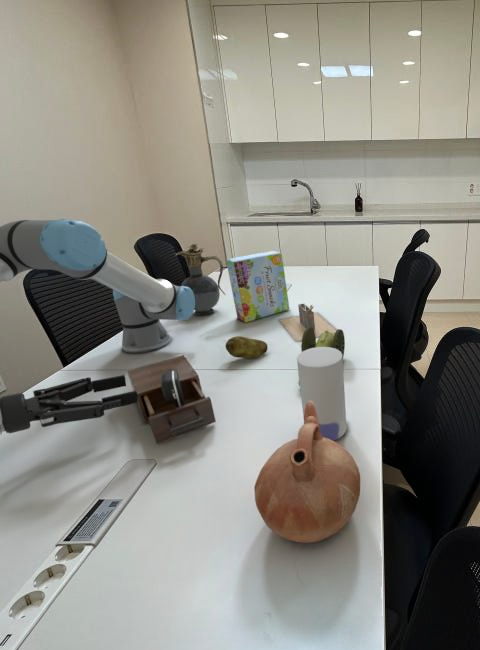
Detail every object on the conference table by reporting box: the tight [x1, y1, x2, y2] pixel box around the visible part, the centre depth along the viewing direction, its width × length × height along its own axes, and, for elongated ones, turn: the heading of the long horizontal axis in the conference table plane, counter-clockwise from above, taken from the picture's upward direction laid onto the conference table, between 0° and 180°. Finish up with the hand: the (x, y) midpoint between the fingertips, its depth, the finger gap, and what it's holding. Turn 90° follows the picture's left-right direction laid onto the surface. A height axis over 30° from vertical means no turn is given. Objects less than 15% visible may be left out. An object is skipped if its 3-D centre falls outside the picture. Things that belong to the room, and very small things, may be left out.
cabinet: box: [126, 354, 203, 424], centre depth 106 cm, size 16×15×9 cm
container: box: [296, 347, 348, 442], centre depth 90 cm, size 10×10×20 cm
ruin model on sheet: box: [279, 303, 337, 342], centre depth 153 cm, size 25×16×10 cm, turn 27°
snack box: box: [225, 250, 290, 324], centre depth 164 cm, size 22×9×26 cm, turn 133°
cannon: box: [298, 328, 346, 387], centre depth 119 cm, size 25×12×11 cm, turn 168°
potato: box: [225, 335, 268, 360], centre depth 129 cm, size 8×13×8 cm, turn 102°
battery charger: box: [161, 371, 186, 409], centre depth 95 cm, size 7×4×11 cm, turn 27°
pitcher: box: [175, 243, 226, 316], centre depth 167 cm, size 11×19×30 cm, turn 118°
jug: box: [253, 401, 361, 544], centre depth 67 cm, size 18×18×20 cm
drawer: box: [143, 380, 217, 445], centre depth 95 cm, size 19×13×7 cm
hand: (130, 388), depth 91 cm, fingers open, 10 cm apart
